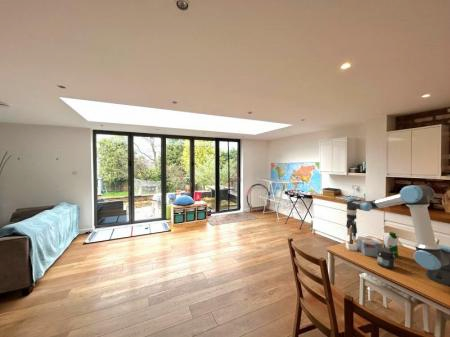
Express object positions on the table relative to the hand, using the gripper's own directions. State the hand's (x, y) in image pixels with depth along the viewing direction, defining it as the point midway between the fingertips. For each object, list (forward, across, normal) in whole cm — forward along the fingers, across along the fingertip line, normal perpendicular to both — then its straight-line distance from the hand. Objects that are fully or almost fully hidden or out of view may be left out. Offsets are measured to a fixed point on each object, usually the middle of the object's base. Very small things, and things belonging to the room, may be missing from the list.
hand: (351, 237), depth 173 cm
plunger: (+10, -4, -13) cm, 17 cm away
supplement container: (+11, -27, -14) cm, 32 cm away
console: (+11, -4, -13) cm, 17 cm away
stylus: (+11, 0, 0) cm, 11 cm away
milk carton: (+11, -5, -28) cm, 30 cm away
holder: (+11, 0, 0) cm, 11 cm away
